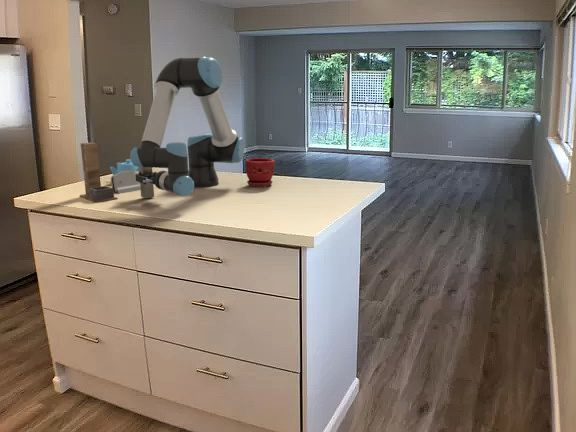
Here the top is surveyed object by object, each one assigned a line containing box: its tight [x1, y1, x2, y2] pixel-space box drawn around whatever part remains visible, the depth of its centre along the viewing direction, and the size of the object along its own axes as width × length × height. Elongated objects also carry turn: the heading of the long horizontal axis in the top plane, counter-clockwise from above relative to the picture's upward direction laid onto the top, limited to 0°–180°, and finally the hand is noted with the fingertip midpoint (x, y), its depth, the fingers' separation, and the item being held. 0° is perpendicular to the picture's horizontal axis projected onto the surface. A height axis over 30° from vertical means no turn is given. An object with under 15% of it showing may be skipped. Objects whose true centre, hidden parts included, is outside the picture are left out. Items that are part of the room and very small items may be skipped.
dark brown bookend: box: [79, 142, 118, 203], centre depth 238 cm, size 17×10×23 cm, turn 40°
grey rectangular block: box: [139, 167, 155, 199], centre depth 236 cm, size 4×4×16 cm
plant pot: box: [245, 158, 275, 188], centre depth 261 cm, size 13×13×12 cm
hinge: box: [110, 170, 141, 195], centre depth 256 cm, size 17×5×10 cm, turn 138°
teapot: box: [109, 159, 139, 176], centre depth 276 cm, size 15×15×11 cm
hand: (140, 174), depth 240 cm, fingers closed on grey rectangular block, 4 cm apart
